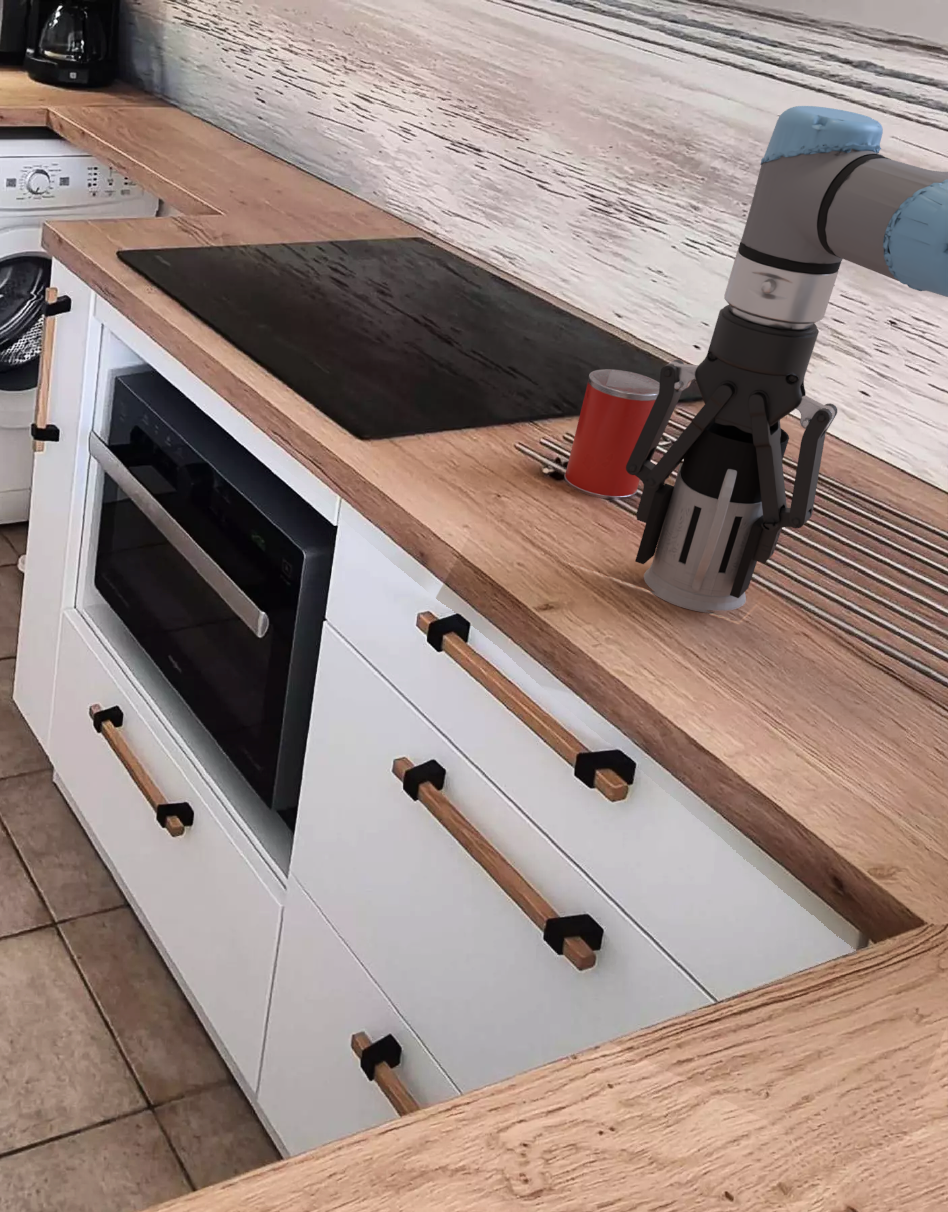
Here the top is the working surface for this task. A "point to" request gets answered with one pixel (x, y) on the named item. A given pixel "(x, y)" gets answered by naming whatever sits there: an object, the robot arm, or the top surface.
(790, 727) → the top surface
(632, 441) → the sauce can
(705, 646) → the top surface
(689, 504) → the glass holder
